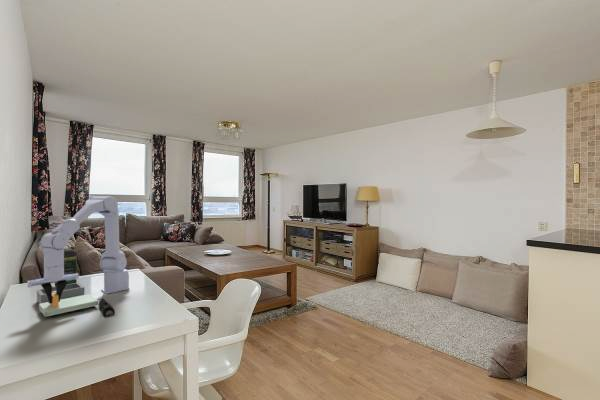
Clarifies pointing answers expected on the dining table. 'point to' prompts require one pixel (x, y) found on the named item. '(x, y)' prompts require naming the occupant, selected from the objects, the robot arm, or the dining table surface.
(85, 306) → the lid
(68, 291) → the tub
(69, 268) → the coffee jar
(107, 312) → the electric trimmer
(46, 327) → the dining table surface
